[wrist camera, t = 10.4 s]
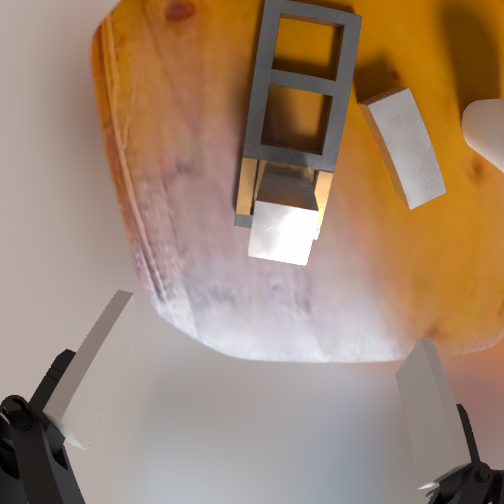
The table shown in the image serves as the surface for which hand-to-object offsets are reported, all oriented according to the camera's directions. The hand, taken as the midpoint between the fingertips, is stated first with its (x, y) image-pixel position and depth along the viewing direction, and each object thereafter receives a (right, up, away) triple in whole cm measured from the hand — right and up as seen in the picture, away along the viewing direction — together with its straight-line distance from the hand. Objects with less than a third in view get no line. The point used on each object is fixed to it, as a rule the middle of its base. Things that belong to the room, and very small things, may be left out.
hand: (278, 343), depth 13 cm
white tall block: (+2, +11, +19) cm, 22 cm away
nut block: (+14, +16, +15) cm, 26 cm away
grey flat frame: (+3, +17, +15) cm, 23 cm away
